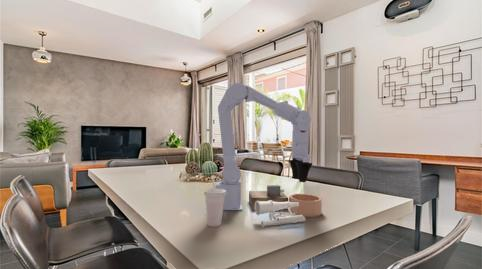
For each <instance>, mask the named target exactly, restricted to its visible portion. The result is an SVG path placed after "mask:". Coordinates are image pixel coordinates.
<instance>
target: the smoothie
mask: <svg viewBox="0 0 482 269" xmlns="http://www.w3.org/2000/svg"><path fill="white" fill-rule="evenodd" d="M215 178H216V176H215V175H212V188H207V189H205V190H204V191H203V192H204V193H203V195H204V198H205V206H206V216H207V217H206V218H207V225H208V227H213V228H214V227H220V226H221V225H222V218H223V211H224V210H223V206H224V199H225V195H226V190H224V189H218V188H215V183H216V181H215Z"/></svg>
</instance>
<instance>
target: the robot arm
mask: <svg viewBox="0 0 482 269" xmlns="http://www.w3.org/2000/svg"><path fill="white" fill-rule="evenodd" d="M243 102H244V103H250V102H254V103H256V104H257V103H258V104H260V105H261V106H263V107H266V108H268V109H270V110H272V111H273V114H274V116H277V117H279V118H281V119H283V120H285V121H287V122H290V123H291V125H292V136H291V138H292V140H291V141H292V143H291V156H290V157H291V159H289V160H288V163H289V165H290V168H291V171H292V172H291V174H292V178H293V179H298V181H299V182H300V183H306V182H307V179H308V176H309V171H310V170H311V168H312V166H313V162H310V158H312V155H311V154H309V125H310V123H311V122H312V117H311V115H310V113H309V112H308V111H306V110H305V109H304V110H300V107H299V106H293V105H292V104H289V101H287V100H279V101H276V100H274V99H273V98H271V97H269V96H267V95H265V94H263V93H262V92H260V91H258V90H256V89H255V88H253V87H252V86H249V85H247V84H246V85H245V84H243V83H242V82H234V83H232V84H231V85H230V86H229V87H228V88H227V89H226V90H225V92H224V95H223V96H222V98H221V100H220V102H219V104H218V106H217V111H218V121H219V132H220V139H221V140H220V141H221V147H222V159H223V167H222V169H221V170H222V179H221V180H220V182H215V183H214V188H218V189H224V190H226V195H225V199H224V206H223V211H242V210H243V206H242V203H241V200H242V199H241V198H242V196H241V195H242V181H241V180H240V179H241V177H242V172H241V169H240V167H239V166H238V161H237V155H236V148H235V138H234V130H233V122H232V121H233V120H232V111H233V110H234V109H235V107H236V106H238V105H240V104H241V103H243Z"/></svg>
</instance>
